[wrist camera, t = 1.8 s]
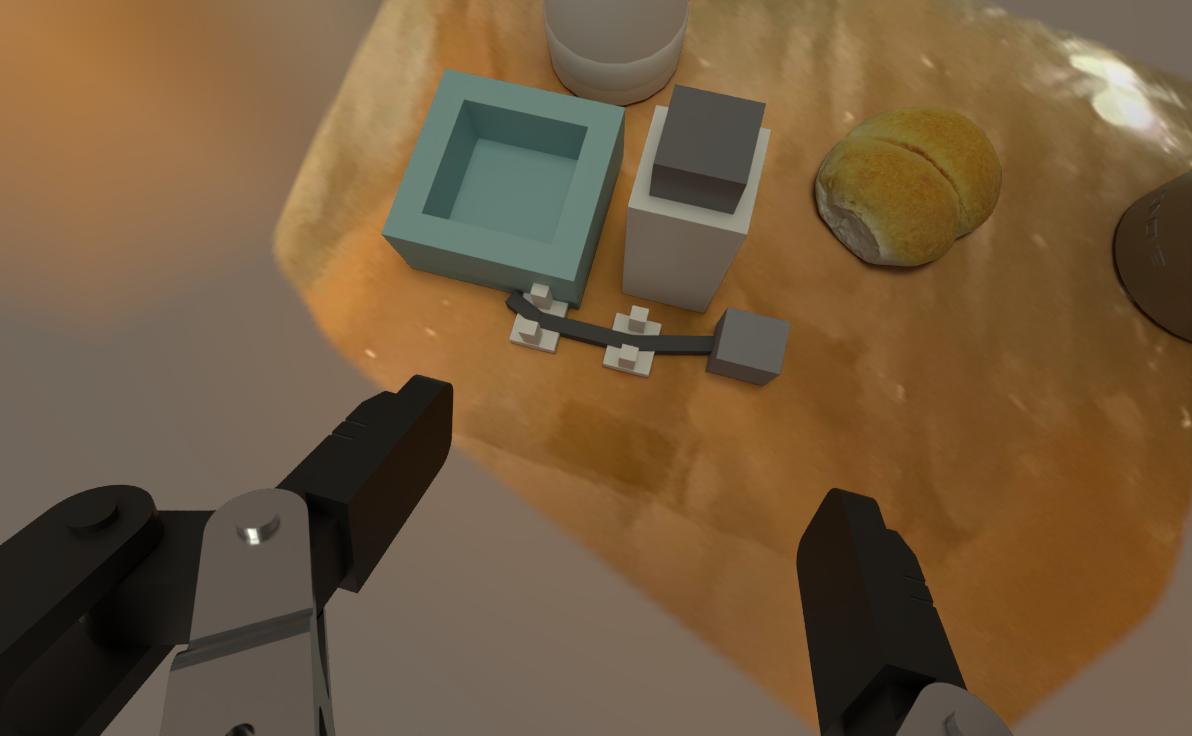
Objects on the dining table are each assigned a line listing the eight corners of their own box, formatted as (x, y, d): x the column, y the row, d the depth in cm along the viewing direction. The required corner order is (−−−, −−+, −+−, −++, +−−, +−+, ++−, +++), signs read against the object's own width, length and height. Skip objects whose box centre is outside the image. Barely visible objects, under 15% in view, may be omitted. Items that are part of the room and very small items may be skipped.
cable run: (772, 338, 28) (790, 322, 25) (759, 406, 27) (775, 397, 24) (517, 275, 29) (508, 253, 26) (497, 339, 28) (485, 322, 25)
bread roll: (1005, 203, 29) (1066, 159, 26) (887, 297, 28) (932, 267, 24) (898, 102, 31) (940, 46, 27) (783, 188, 30) (809, 143, 26)
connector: (722, 237, 29) (788, 91, 18) (704, 313, 28) (762, 206, 17) (642, 219, 29) (661, 65, 19) (622, 293, 29) (629, 175, 18)
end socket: (623, 156, 30) (625, 107, 26) (578, 309, 28) (573, 281, 24) (465, 121, 31) (445, 68, 27) (411, 268, 29) (381, 234, 25)
